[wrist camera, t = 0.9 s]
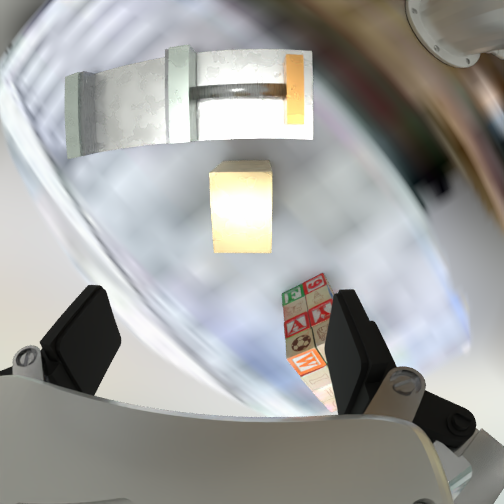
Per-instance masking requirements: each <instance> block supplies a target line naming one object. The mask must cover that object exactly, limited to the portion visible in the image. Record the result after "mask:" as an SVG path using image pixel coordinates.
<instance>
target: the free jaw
mask: <svg viewBox="0 0 504 504" xmlns="http://www.w3.org/2000/svg"><path fill="white" fill-rule="evenodd" d="M225 97H284V125H304V57H303V55H296V54H286V56H285V59H284V83H237V84H218V85H205V86H196V52H195V51H194V50H193V49H192V48H191V47H190V45H183V46H177V47H170V48H169V49H166V50H165V122H166V144H169V143H170V144H171V143H182V142H192V141H197V126H196V100H197V99H209V98H225Z"/></svg>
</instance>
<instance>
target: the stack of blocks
mask: <svg viewBox="0 0 504 504" xmlns="http://www.w3.org/2000/svg"><path fill="white" fill-rule="evenodd" d="M333 296H334V293H333V291H332V289H331V287H330V285H329V283H328V281H327V279H326V277H325V275H324V274H323V273H322V274H320V275H318V276H316V277H314V278H312V279H310V280H308V281H306V282H304V283H302V284H301V285H299V286H297V287H295V288H293V289H291V290H289V291H287V292H284V293H282V306H283V310H284V321H285V322H284V333H285V339H286V359H287V361H288V362H289V363H290V364H291V365H292V367H293V368H294V369H295V370H296V372H297V373H298V374H299V375H300V377H301V379H302V380H303V381H304V382H305V384H306V385H307V386H308V387H309V388H310V389H311V390H312V392H313V393H314V395H315V396H316V397H317V398H318V399H319V400H320V401H321V402H323V404H324V405H325V406H326V407H327V409H328V410H329V411H330V412H334V411H337V405H336V401H335V396H334V391H333V387H332V382H331V378H330V374H329V369H328V365H327V361H326V356H325V351H324V347H325V341H326V336H327V330H328V325H329V319H330V314H331V308H332V302H333Z"/></svg>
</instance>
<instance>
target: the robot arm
mask: <svg viewBox="0 0 504 504" xmlns="http://www.w3.org/2000/svg"><path fill="white" fill-rule="evenodd" d="M406 14H407V17H408V20H409V23H410V25H411V27H412V29H413V31H414V33H415V34H416V36H417V37H418V39H419V40H420V41H421V43H422V44H423V45H424V46H425V47H426V48H427V49H428V51H429V52H430V53H432V54H433V55H434V56H435V57H436V58H438V59H439V60H441V61H442V62H443V63H446V64H448V65H450V66H453V67H456V68H465V67H470V66H472V65H474V64H475V63H476V62H477V61H478V59H479V57H480V53H484V52H486V53H489V54H490V53H492V54H493V55H494V56H496V57H498V58H500V59H501V60H504V0H406ZM40 344H41V346H42V350H41V351H40V349H39V348H38V347H36V346H32V345H30V346H26V347H24V348H22V349H20V350H19V351H18V352H17V353H16V354H15V356H14V358H13V366H12V367H10V368H7V369H5V370H2V371H0V504H494V502H495V501H496V499H497V498H498V496H499V495H500V493H501V492H502V490H503V488H504V446H503V445H501V444H500V443H499V442H498V441H497V440H495V439H494V438H493V437H492V436H491V435H489V434H488V433H487V432H486V431H484V430H483V429H481V430H480V431H479V430H478V429H476V421H475V418H474V416H473V414H472V413H471V412H470V411H469V410H467V409H465V408H463V407H461V406H459V405H457V404H454V403H452V402H450V401H448V400H445V399H443V398H441V397H439V396H437V395H434V394H432V393H430V392H428V391H426V390H425V387H426V383H425V379H424V378H423V376H422V375H421V374H420V373H419V372H418V371H416V370H415V369H413V368H409V367H396V364H395V362H394V360H393V358H392V356H391V354H390V351H389V349H388V347H387V345H386V343H385V341H384V339H383V337H382V335H381V333H380V331H379V329H378V327H377V325H376V323H375V322H374V321H370V320H369V318H368V316H367V314H366V312H365V310H364V308H363V306H362V304H361V302H360V300H359V298H358V296H357V294H356V292H355V291H354V290H353V289H349V290H339V292H338V294H334V296H333V302H332V308H331V314H330V319H329V325H328V330H327V336H326V341H325V347H324V351H325V356H326V361H327V365H328V369H329V374H330V378H331V382H332V387H333V391H334V396H335V401H336V405H337V410H338V415H325V416H308V417H233V416H216V415H205V414H194V413H184V412H176V411H169V410H162V409H155V408H149V407H144V406H138V405H133V404H128V403H123V402H118V401H114V400H109V399H105V398H101V397H97V396H94V395H95V393H96V391H97V389H98V387H99V385H100V383H101V381H102V379H103V377H104V375H105V373H106V371H107V369H108V367H109V366H110V364H111V362H112V360H113V358H114V356H115V354H116V352H117V351H118V349H119V347H120V345H121V336H120V333H119V330H118V328H117V325H116V322H115V319H114V316H113V312H112V309H111V306H110V303H109V299H108V296H107V293H106V290H105V289H103V288H102V286H100V285H88V286H87V287H86V288H85V289H84V291H83V292H82V293H81V294H80V295H79V296H78V297H77V298H76V299H75V301H74V302H73V303H72V304H71V305H70V306H69V307H68V308H67V310H66V311H65V312H64V313H63V314H62V315H61V317H60V318H59V319H58V320H57V321H56V323H55V324H54V325H53V326H52V328H51V329H50V330H49V331H48V332H47V334H46V335H45V336H44V337H43V339H42V340H41V341H40ZM448 482H449V483H448Z"/></svg>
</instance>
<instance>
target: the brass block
mask: <svg viewBox="0 0 504 504" xmlns="http://www.w3.org/2000/svg"><path fill="white" fill-rule="evenodd" d="M209 179H210V199H211V216H212V232H213V247H214V253H271V244H272V169H271V165H270V161H269V160H237V161H223V162H222V163H220V164H219V165H218V166H217V167H216V168H214V169H213V170H212V171H211V172H210V173H209Z"/></svg>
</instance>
